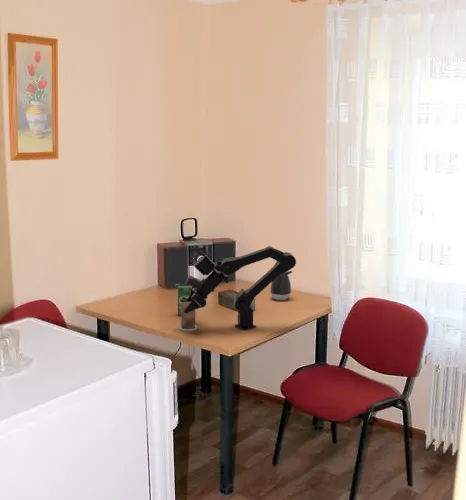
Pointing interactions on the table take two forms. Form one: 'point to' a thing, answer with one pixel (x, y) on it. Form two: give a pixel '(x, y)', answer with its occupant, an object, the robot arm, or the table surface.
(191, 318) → the brown rounded cylinder
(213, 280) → the robot arm
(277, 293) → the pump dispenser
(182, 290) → the coffee box
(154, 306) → the table surface
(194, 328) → the slate pad
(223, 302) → the beverage carton
